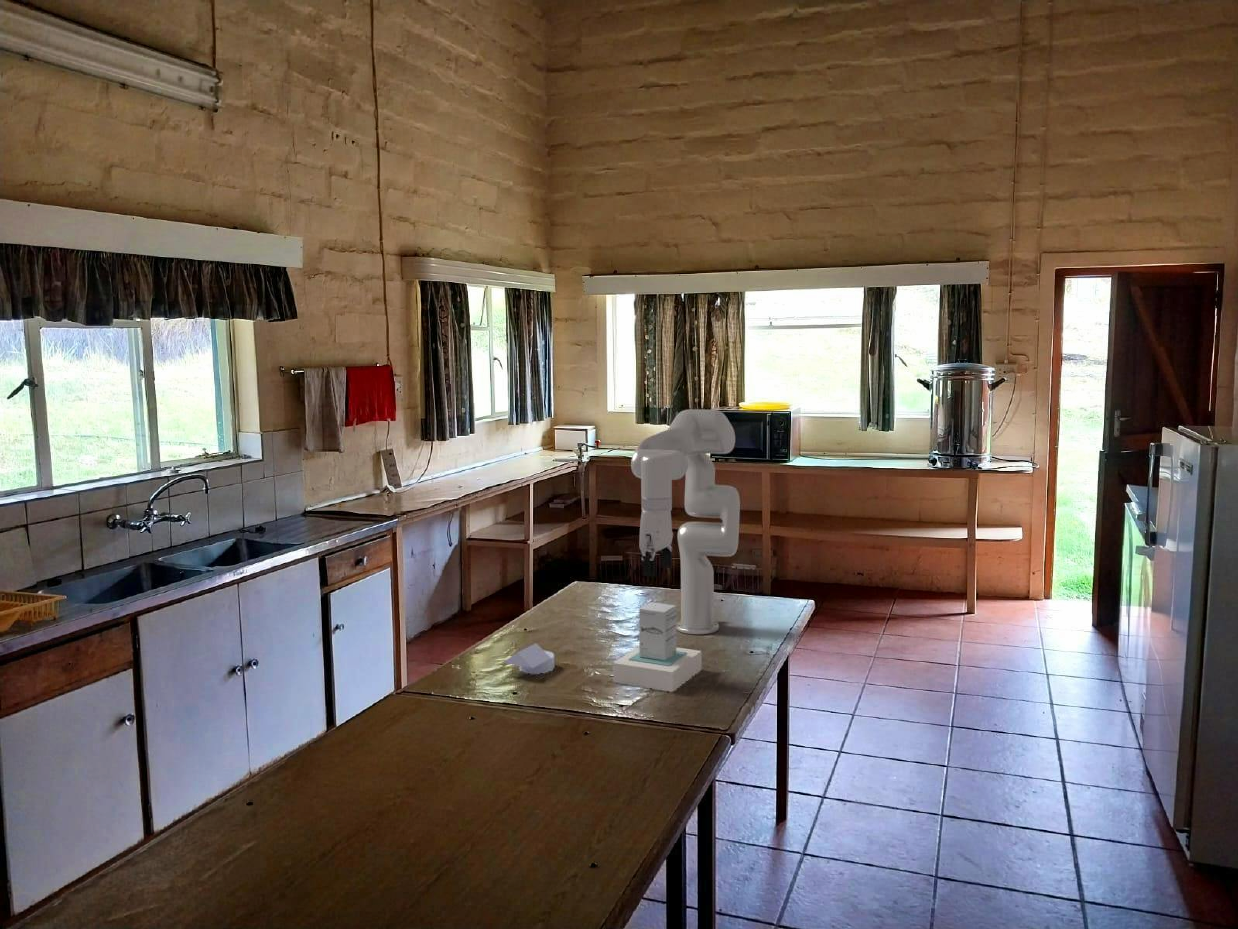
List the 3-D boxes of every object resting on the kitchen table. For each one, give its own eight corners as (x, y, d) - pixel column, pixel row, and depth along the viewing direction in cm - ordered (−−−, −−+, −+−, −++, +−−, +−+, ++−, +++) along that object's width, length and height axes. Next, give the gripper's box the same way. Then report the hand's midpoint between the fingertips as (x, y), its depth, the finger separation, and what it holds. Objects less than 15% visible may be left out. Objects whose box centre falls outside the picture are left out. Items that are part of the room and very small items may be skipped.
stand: (645, 661, 258) (644, 641, 258) (701, 669, 251) (701, 649, 250) (613, 682, 242) (613, 661, 242) (672, 692, 235) (672, 671, 234)
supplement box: (638, 657, 245) (637, 608, 243) (651, 649, 251) (651, 601, 250) (665, 661, 241) (664, 611, 240) (677, 653, 248) (677, 604, 246)
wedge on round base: (532, 681, 244) (561, 665, 255) (532, 655, 243) (560, 640, 255) (503, 675, 249) (532, 660, 260) (502, 649, 248) (531, 636, 259)
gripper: (657, 497, 251) (658, 562, 254) (627, 508, 236) (628, 578, 239) (684, 499, 248) (684, 565, 250) (655, 511, 233) (656, 581, 235)
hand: (657, 571), depth 244 cm, fingers open, 9 cm apart
